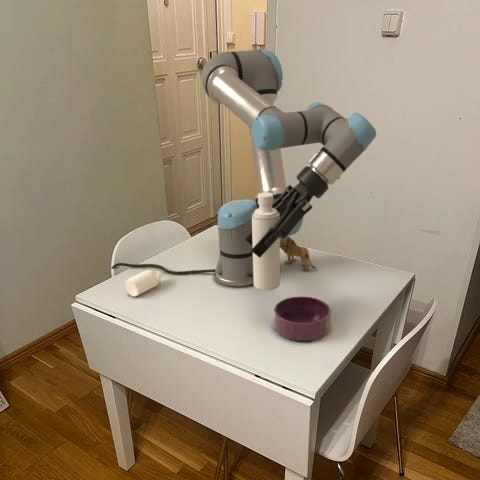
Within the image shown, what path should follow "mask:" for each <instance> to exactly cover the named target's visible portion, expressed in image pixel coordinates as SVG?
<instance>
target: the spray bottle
mask: <svg viewBox="0 0 480 480" xmlns="http://www.w3.org/2000/svg"><path fill="white" fill-rule="evenodd" d="M257 194H258V193H257ZM272 203H273V194H272V193H267V192H266V193H260V194H258V204H259V209H256V210H255V211H254V212H253V213H252V242H253V247H254V246H255V245H256V244H257V243H258V242H259V241H260V240H261V239H262V238H263V237H264V235H265V234H266V233H267V232H268V231H269V229H270V228H274V227H275V225H276V224H277V222H278V221H279V219H280V213H279V212H278V211H277V210H276V209H274V208H272ZM253 278H254V284H253V287H254V288H255V289H257V290H261V291H273V290H275V289H278V288H279V286H280V284H281V282H280V281H281V248H280V238H278V239H277V240H276V241H275V242H274V243H273V244H272V245H271V246H270V247H269V248H268V249H267V251H266V252H265V253H264V254H263V255H262V256H261V257H260V258H259V257H258V256H257V255H256V254H254V253H253Z"/></svg>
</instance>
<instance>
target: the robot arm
mask: <svg viewBox="0 0 480 480" xmlns="http://www.w3.org/2000/svg"><path fill="white" fill-rule="evenodd" d="M283 78H284V74H283V69H282V65H281V62H280V59H279V58H278V56H277V54H275V53H274V52H273V51H271V50H269V49H259V48H257V49H250V50H249V49H248V50H236V51H235V50H234V51H222V52H219V53H217V54H215V55H213V56H212V57H211V58H209V59H208V61H207V62H206V63H205V65H204V66H203V70H202V73H201V85H202V88H203V90H204V93H205V94H206V95H207V96H208V97H209V99H211V100H212V101H213V102H215V104H219V105H223V106H225V107H226V108H227V109H228V110H229V111H230V112H231V113H233V114H234V115H235V116H236V117H237V118H238V119H240V121H242V122H243V123H244V124H245V125H246V126H247V130H248V136H249V141H250V147H251V153H252V158H253V165H254V170H255V177H256V182H257V188H258V193H256V195H255V197H254V200H253V199H248V198H247V199H236V200H231V201H229V202H227V203H225V204H223V205H221V207H220V208H219V210H218V211H217V222H216V225H217V228H218V229H217V231H218V232H217V233H218V244H219V245H218V246H219V247H218V248H219V257H218V260H217V264H216V267H215V268H214V269H213V268H210V269H194V270H181V271H175V270H170V269H168V268H166V267H164V266H163V265H160V264H155V263H138V264H133V263H126V262H117V263H115V264H114V265H112V266H111V268H110V269H111V270H114V269H115V268H117V267H120V266H121V267H128V268H158V269H160V270H162V271H164V272H165V273H167V274H171V275H190V274H191V275H192V274H203V273H204V274H205V273H207V274H208V273H214V276H215V280H216V281H217V282H218V283H219V284H221V285H223V286H226V287H227V286H228V287H233V288H234V287H235V288H241V287H249V286H252V285H253V286H254V278H253V253H254V254H256V255H257V256H258V257H259V258H260V257H261V256H262V255H263V254H264V253H265V252H266V251H267V249H268V248H269V247H270V246H271V245H272V244H273V243H274V242H275V241H276V240H277V239H278V238H282V239H284V238H285V237H287V236H288V237H290V236H293V235H296V234H297V233H298V232H299V231H300V230H301V227H302V226H303V221H304V216H305V215H306V214H308V213H309V212H310V211H311V210H312V209H313V205H312V204H311V203H310V202H311V201H312V199H313V197H315V198H316V199H321V198H322V197H323V196H324V195H325V193H326V192H327V191H328V190H329V189H330V187H329V185H333V184H334V183H335V182H336V181H337V180H340V179H341V176H342V175H343V174H344V173H345V172H346V170H347V169H348V168H349V167H350V166H351V165H352V164H353V163H354V162H355V161H356V160H357V159H358V158H359V157H360V156H361V155H362V154H363V153H364V152H365V151H366V150H367V148H368V147H369V146H370V145H371V144H372V142H374V140H375V139H376V137H377V131H376V128H375V127H374V125H373V124H372V123H371V122H370V121H369V120H368V119H367V118H366V117H365V116H364V115H362V114H361V113H359V112H354V113H352V114H351V115H350V116H348V117H347V118H345V117H344V116H343V115H341V113H339V112H337V111H336V110H334V109H333V108H332V107H331V106H329V105H327V104H325V103H323V102H318V101H317V102H313V103H311V104H310V105H308V106H306V108H305V109H304V110H299V111H289V112H283V111H282V110H281V109H280V108H278V107H277V106H275V102H276V100H277V99H278V95H279V94H278V92H280V90H281V89H282V86H283ZM313 144H321V145H322V147H321V148H320V149H319V150H318V151H317V152H316V154H314V156H313V157H312V158H311V159H310V160H309V161H308V165H306V166H304V167H303V168H302V169H301V170H300V172H299V173H298V174H297V175H296V180H297V181H298V183H297V184H296V185H295V186H294V187H293V186H292V185H291V184H288V185H287V181H286V174H285V169H284V162H283V155H282V150H281V149H284V148H292V147H299V146H304V145H305V146H306V145H313ZM266 192H267V193H272V194H273V203H272V208H274V209H276V210H277V211H278V212H279V213H280V219H279V221H278V222H277V224H276V225H275V227H274V228H270V229H269V231H268V232H267V233H266V234H265V235H264V237H263V238H262V239H261V240H260V241H259V242H258V243H257V244H256V245H255V246H254V247H253V242H252V213H253V212H254V211H255V210H256V209H259V204H258V194H260V193H266Z"/></svg>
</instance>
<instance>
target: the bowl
mask: <svg viewBox="0 0 480 480" xmlns="http://www.w3.org/2000/svg"><path fill="white" fill-rule="evenodd" d="M331 313H332V310H331V308H330V305H329V304H328V303H326V302H325V301H323V300H320V299H319V298H317V297H312V296H303V295H302V296H291V297H286V298H284V299H282V300H280V301H279V302H277V303H276V304H275V306H274V309H273V326H274V330H275V331H276V332H277V333H278V335H280V336H282V337H283V338H285V339H289V340H292V341H299V342H307V341H308V342H309V341H314V340H319V339H320V338H321V339H322V337H324V336H326V335H327V334H328V332H330V326H331Z"/></svg>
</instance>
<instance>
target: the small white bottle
mask: <svg viewBox="0 0 480 480" xmlns="http://www.w3.org/2000/svg"><path fill="white" fill-rule="evenodd" d="M161 278H162V272H161V271H160V270H156V271H155V270H150V269H147V270H144V271H141V272H140V273H138V274H135V275H133V276H132V277H130V278H128V279H127V280H125V281H124V288H125V289H126V291H127V292H128V294H129V295H130V296H132V297H138V296H140V295H141V294H142V293H145V292H147V291H149V290H151V289H153V288H154V287H156V286H157V285H158V284H159V283H160V282H161Z"/></svg>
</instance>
